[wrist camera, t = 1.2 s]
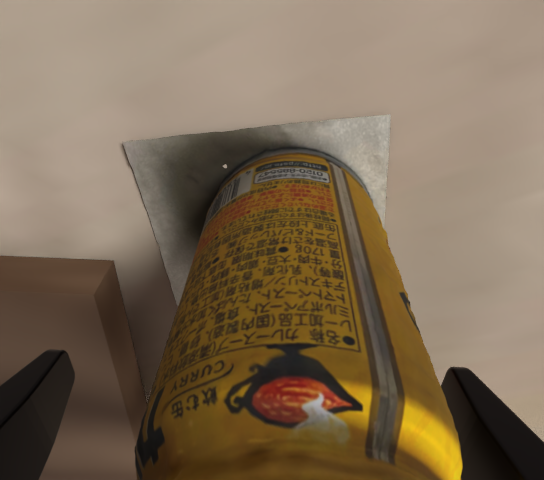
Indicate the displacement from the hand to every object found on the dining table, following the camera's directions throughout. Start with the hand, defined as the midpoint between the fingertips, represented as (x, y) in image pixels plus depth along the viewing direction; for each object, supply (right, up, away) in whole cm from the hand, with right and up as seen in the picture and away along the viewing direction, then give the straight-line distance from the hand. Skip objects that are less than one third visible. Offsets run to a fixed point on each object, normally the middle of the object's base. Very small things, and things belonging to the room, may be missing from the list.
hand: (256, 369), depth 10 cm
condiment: (0, +4, +6) cm, 7 cm away
